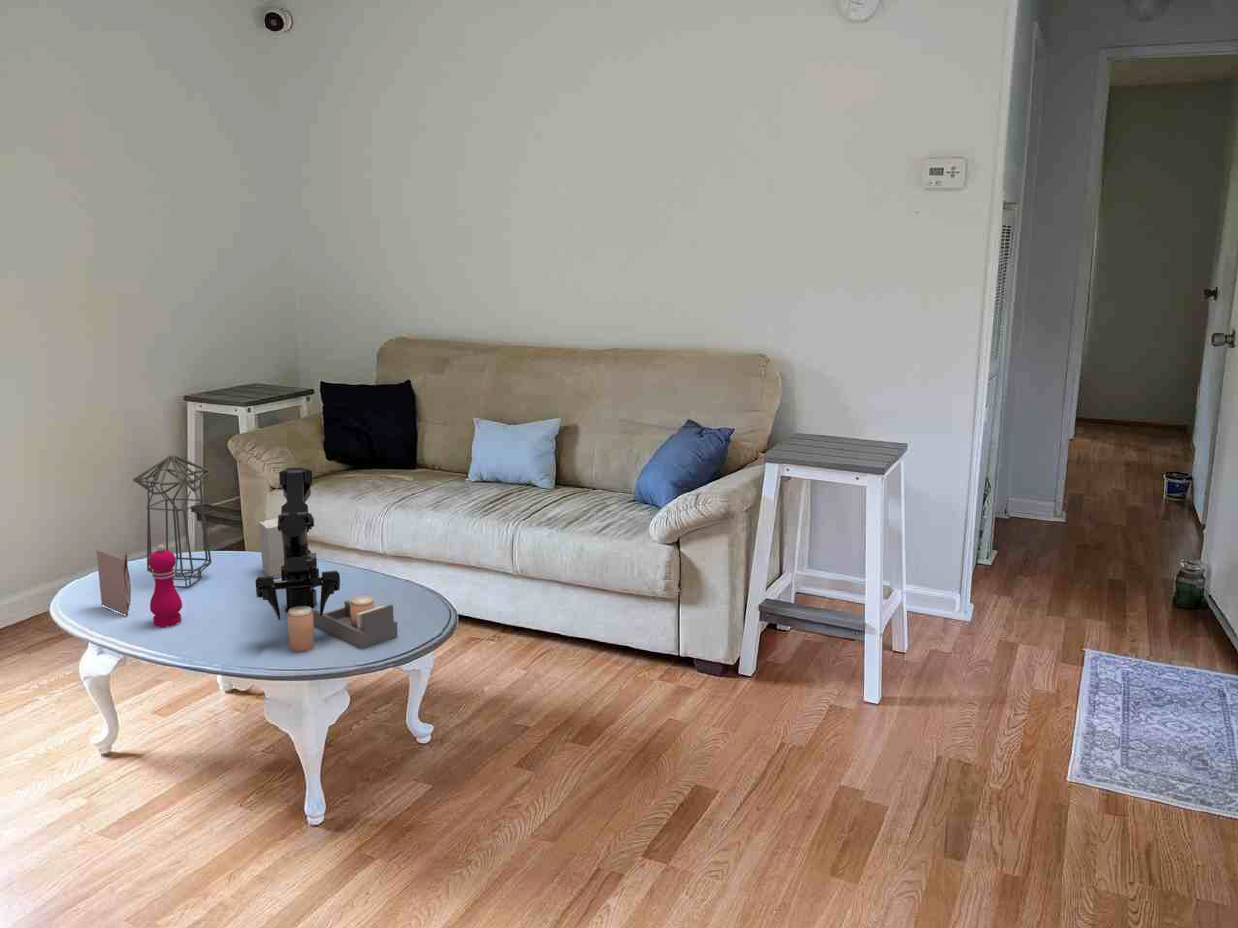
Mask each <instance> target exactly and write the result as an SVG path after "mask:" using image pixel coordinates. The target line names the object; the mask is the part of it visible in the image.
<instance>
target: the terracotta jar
mask: <svg viewBox="0 0 1238 928" xmlns="http://www.w3.org/2000/svg"><path fill="white" fill-rule="evenodd" d="M313 611H314V610H312V608H311V607H308V606H296V607H293V608H291V609H289V612H287V627H288V628H287V629H288V630H287V631H288V645H289V646H288V647H289V651H291V652H295V653H306V652H309V651H312V650H313V649H315V646H316V645H315V628H314V627H315V626H314V623H313Z"/></svg>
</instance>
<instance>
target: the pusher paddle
mask: <svg viewBox="0 0 1238 928" xmlns="http://www.w3.org/2000/svg"><path fill="white" fill-rule="evenodd" d="M384 606H385V605H381V606H377V607H375V608H374V609H371V610H367V611H364V612H361V613H358V614H357V624H358V629H359V630H361V631H363V613H365V612H369V611H372V610H375V609H378V608H381V607H384Z"/></svg>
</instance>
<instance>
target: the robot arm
mask: <svg viewBox="0 0 1238 928" xmlns="http://www.w3.org/2000/svg"><path fill="white" fill-rule="evenodd" d="M278 474H279V475H278V477H279V480H278V481H279V487H280V488H282V491H283V497H284V498H285V499H286V502H285V503H284V504H283V505H282V506H281V507H280V509H281V511H280V514H278V516H277V518H278V531H281V535H282V541H283V553H284V566H281V577H280V578H281V580H274V578H273V576H268V575H266V576H258V577H257V578H256V579H255V592H256V597H257V598H260V599H261V598H262V600H263V601H267V602H268V603H269V605H270V606H271V608H272V610H273V613H275V615H276V616H275V617H276V618H277V620H278V621H281V611H280V606H279V600H278V595H277V591H276V590H285V596H286V597H285V598H286V599H285V600H286V601H285V602H286V607H285V609H284V613H288V612H289V609H291V608H293V607H296V606H308V607H311V609H314V608H315V607H316V606H317V605H318V601H317V589H315V588H317V587H320V588H321V589H320V602H319V611H320V616H322V615H323V613H324V610H325V607H326V604H327V601H328V599H329V597H330V595H334V594H335V592H337V591H340V588H341V586H340V585H341V576H340V572H339V571H337V570H327V571H322V572H321V577H320V569H319V568H318V562H317V561H318V559H317V558H318V557H317V552H311V550H310V549H309V541H308V540H309V539H308V533H309V532H310V530H312V528H313V527H315V518H314V517H313V515H312V512H310V513H309V505H308V504H307V503H306V502H307V501H308V499H309V498H310V496H311V495H312V489H311V488H312V487H313V486H314V472H313V470H311V469H308V468H305V467H301V466H300V467H287V468H285V469H284V470H282V471H279V473H278Z"/></svg>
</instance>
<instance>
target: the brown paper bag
mask: <svg viewBox="0 0 1238 928" xmlns="http://www.w3.org/2000/svg"><path fill="white" fill-rule="evenodd" d="M96 562H97V570H98V571H97V573H98V579H99V581H98V582H99V591H100V600H101V606H102V605H104V606H106V607H108V608H111V609H113V610H115V611H118V612H120V613H122V614H125V615H126V616H128V617H129V613H128V611H129V612H130V608H129V606H130V607H131V603H130V601H131V602H132V597H131V594H132V593H131V592H132V591H131V590H132V587H131V585H132V584H131V578H130V574H129V566H128V552H127V545H125V547H124V550H123V554H122V558H119V557H117V556H114V555H111V554H108V553H105V552H103V551H100V550H96ZM126 616H125V617H126Z"/></svg>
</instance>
